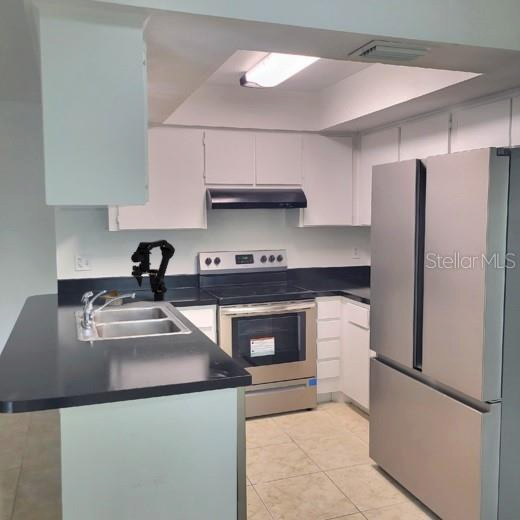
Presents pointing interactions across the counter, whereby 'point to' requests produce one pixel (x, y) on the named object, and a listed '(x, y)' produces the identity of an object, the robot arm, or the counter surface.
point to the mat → (140, 304)
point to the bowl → (115, 302)
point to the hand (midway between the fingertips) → (145, 285)
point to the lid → (113, 295)
